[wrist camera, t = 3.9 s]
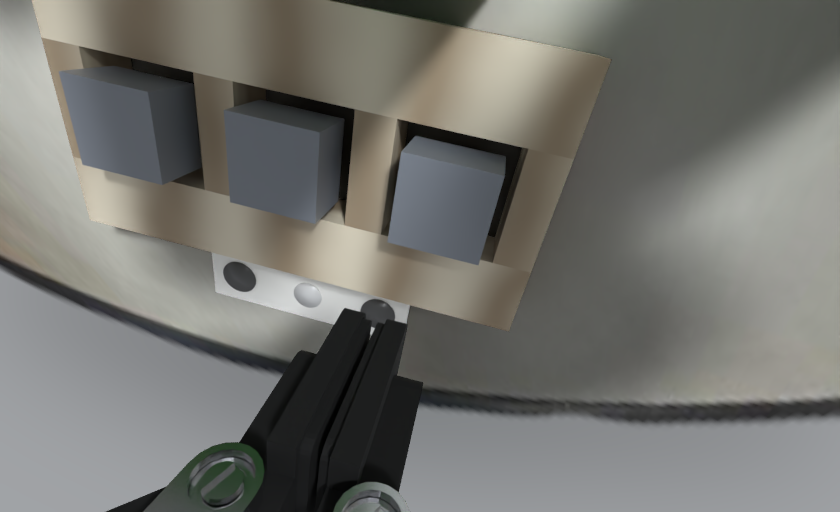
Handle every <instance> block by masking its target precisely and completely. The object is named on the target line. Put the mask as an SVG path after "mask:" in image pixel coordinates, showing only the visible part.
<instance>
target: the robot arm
mask: <svg viewBox="0 0 840 512" xmlns="http://www.w3.org/2000/svg"><path fill="white" fill-rule="evenodd" d="M365 318H366V314H365V313H363V312H359V311H355V310H351V309H347V308H344V309H343V311H342V312H341V314H340V316H339V317H338V319H337V321H336V323H335V324H334V326H333V328H332V329H331V331H330V333H329V335H328V336H327V338H326V340H325V341H324V343H323V345H322V347H321V348H320V350H319V352H318V353H317V354H314V353H310V352H306V351H302V350H301V351H299V352H298V353H297V355H296V356H295V357H294V359H293V360H292V362H291V363H290V365H289V366H288V368H287V370H286V371H285V373H284V374H283V376H282V377H281V379H280V380H279V382H278V384H277V385H276V387H275V388H274V390H273V391H272V393H271V394H270V396H269V397H268V399H267V401H266V402H265V404H264V405H263V407H262V408H261V410H260V411H259V413H258V414H257V416H256V417H255V419H254V421H253V422H252V424H251V425H250V427H249V428H248V430H247V431H246V433H245V434H244V436H243V437H242V439H241V441H240V442H239V443H238V442H237V443H236V442H235V443H222V444H219V445H215V446H212V447H210V448H208V449H206V450H204V451H203V452H201V453H199V454H198V455H197V456H196V457H195V458H194V459H192V460H191V461H190V462H189V463H188V464H187V465H186V466H185V467H184V468H183V470H182V471H181V472H180V473H179V474H178V475H177V476H176V477H175V478H174V479H173V480H172V481H171V482H170V483H169V485H168V486H167V487H165V488H162V489H160V490H157V491H155V492H152V493H150V494H148V495H145V496H143V497H140V498H138V499H136V500H133V501H131V502H128V503H126V504H123V505H121V506H118V507H116V508H114V509H111V510H109V511H107V512H410V511H409V508H408V506H407V503H406V501H405V500H404V499H403V498H402V496H401V495H400V494H399V493H398V492H399V488H400V483H401V479H402V475H403V470H404V465H405V461H406V457H407V452H408V448H409V444H410V439H411V435H412V431H413V426H414V421H415V417H416V412H417V408H418V404H419V400H420V395H421V391H422V386H423V382H419V381H415V380H411V379H408V378H404V377H400V376H397V373H398V368H399V364H400V359H401V354H402V349H403V345H404V340H405V335H406V330H407V324H406V323H402V322H398V321H394V320H390V319H387V320H386V322H385V324H383V323H379V322H378V323H377V324H376V327H375V329H374V331H373V333H372V336H371V338H370V332H371V326H372V321H371V320H367V319H365ZM369 339H370V340H369Z"/></svg>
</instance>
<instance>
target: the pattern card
mask: <svg viewBox="0 0 840 512" xmlns="http://www.w3.org/2000/svg"><path fill="white" fill-rule="evenodd" d="M212 260H213V270H214V280H215V290H216V293H220V294H223V295H227V296H231V297H234V298H238V299H242V300H245V301H249V302H252V303H256V304H260V305H263V306H267V307H271V308H274V309H278V310H282V311H285V312H289V313H293V314H296V315H300V316H303V317H307V318H311V319H314V320H318V321H322V322H325V323H329V324H333V325H334V324H335V323H336V321H337V319H338V317H339V316H340V314H341V312H342V311H343V309H344V308H347V309H351V310H355V311H359V312H363V313H365V314H366V318H365V319H367V320H371V321H372V326H371V332H370V335H372V333H373V331H374V329H375V327H376V324H377V323H378V322H379V323H383V324H385V322H386V320H387V319H390V320H394V321H398V322H402V323H407V319H408V314H409V309H410V305H407V304H404V303H400V302H396V301H392V300H389V299H385V298H381V297H377V296H374V295H370V294H366V293H362V292H358V291H355V290H351V289H347V288H343V287H340V286H336V285H332V284H328V283H325V282H321V281H317V280H313V279H310V278H306V277H302V276H298V275H295V274H291V273H287V272H283V271H280V270H276V269H272V268H268V267H265V266H261V265H257V264H253V263H250V262H246V261H242V260H238V259H235V258H231V257H227V256H223V255H220V254H216V253H212Z"/></svg>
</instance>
